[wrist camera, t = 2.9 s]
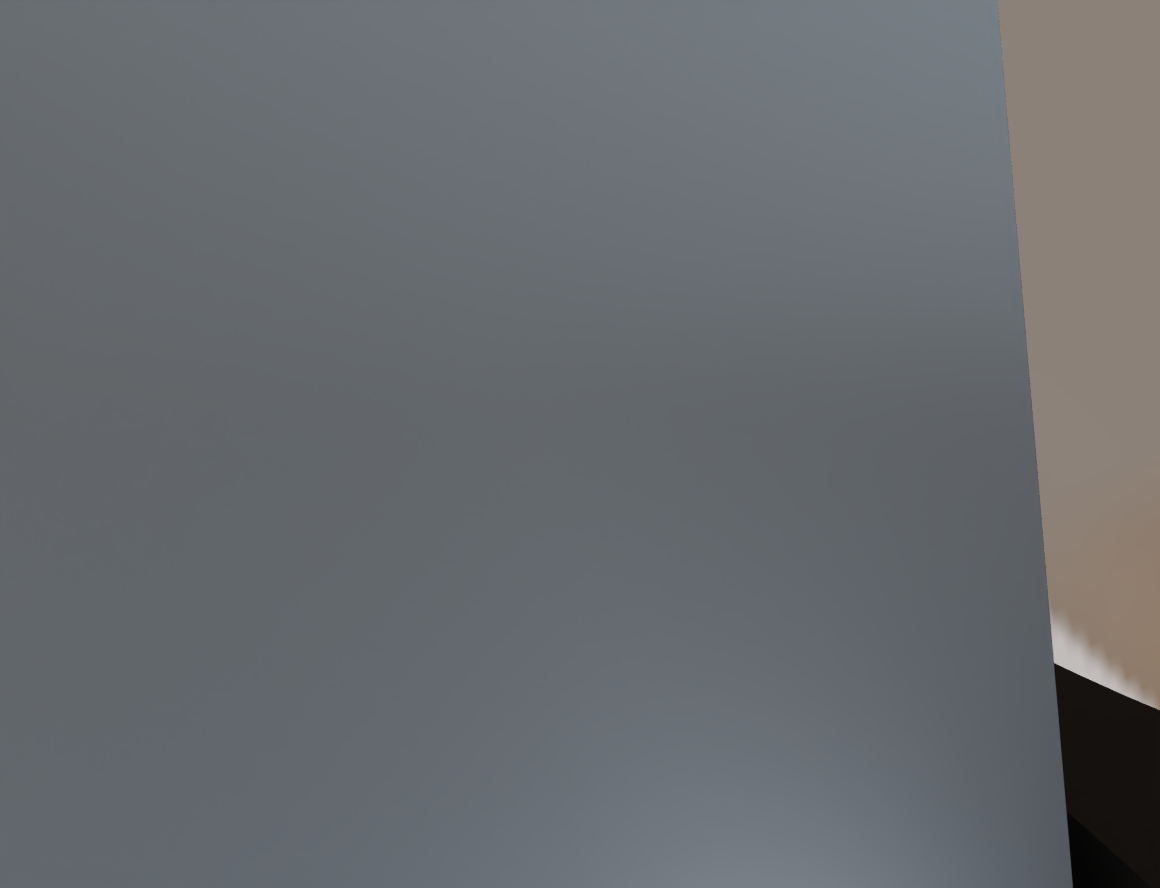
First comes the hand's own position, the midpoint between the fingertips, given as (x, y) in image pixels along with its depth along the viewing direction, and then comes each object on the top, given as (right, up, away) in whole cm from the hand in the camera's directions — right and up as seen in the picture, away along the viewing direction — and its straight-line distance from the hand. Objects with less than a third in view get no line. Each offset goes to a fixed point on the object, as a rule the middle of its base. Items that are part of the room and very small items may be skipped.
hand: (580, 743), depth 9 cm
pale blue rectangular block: (0, +1, +1) cm, 2 cm away
